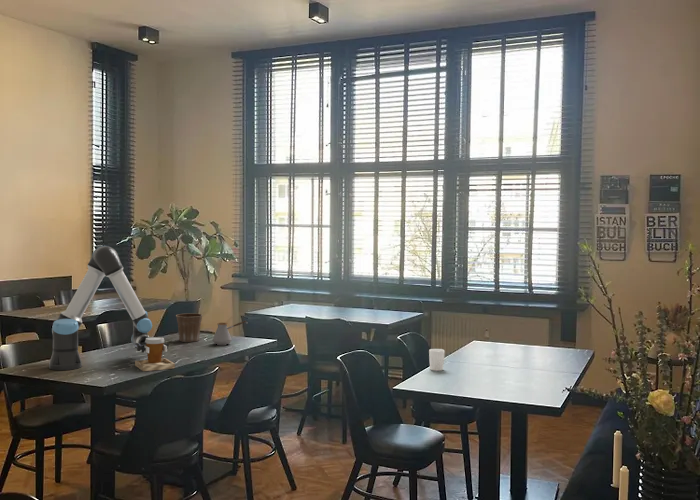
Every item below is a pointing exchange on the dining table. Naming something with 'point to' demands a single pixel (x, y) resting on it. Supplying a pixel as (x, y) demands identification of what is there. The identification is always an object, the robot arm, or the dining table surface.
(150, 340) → the disposable coffee cup
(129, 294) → the robot arm
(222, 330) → the coffee pot
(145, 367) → the oak tray
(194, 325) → the plant pot
